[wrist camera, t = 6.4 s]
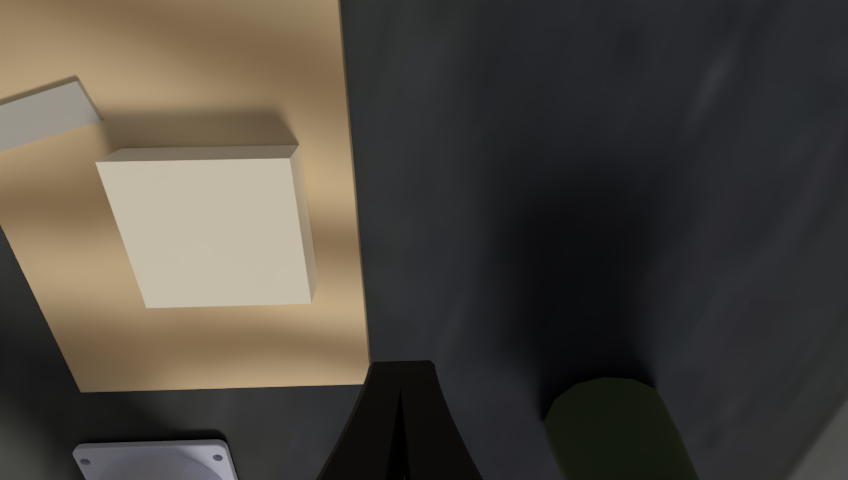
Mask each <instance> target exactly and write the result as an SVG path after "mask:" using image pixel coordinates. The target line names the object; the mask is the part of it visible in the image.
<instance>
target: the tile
mask: <svg viewBox="0 0 848 480" xmlns="http://www.w3.org/2000/svg"><path fill="white" fill-rule="evenodd" d="M95 163H96V166H97V169H98V172H99V174H100V177H101V180H102V183H103V186H104V189H105V191H106V194H107V197H108V200H109V203H110V206H111V209H112V211H113V214H114V217H115V220H116V223H117V226H118V229H119V231H120V234H121V237H122V240H123V243H124V246H125V249H126V251H127V254H128V257H129V260H130V263H131V266H132V269H133V271H134V274H135V277H136V280H137V283H138V286H139V288H140V291H141V294H142V297H143V300H144V303H145V306H146V308H171V307H209V306H247V305H286V304H312V300H313V297H314V294H315V291H316V288H317V285H318V276H317V269H316V262H315V255H314V247H313V240H312V233H311V225H310V218H309V211H308V204H307V196H306V189H305V182H304V174H303V167H302V160H301V153H300V145H268V146H215V147H163V148H121V149H119V150H117V151H115V152H113V153H111V154H109V155H108V156H106V157H104V158H102V159H100V160H98V161H96V162H95Z"/></svg>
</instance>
